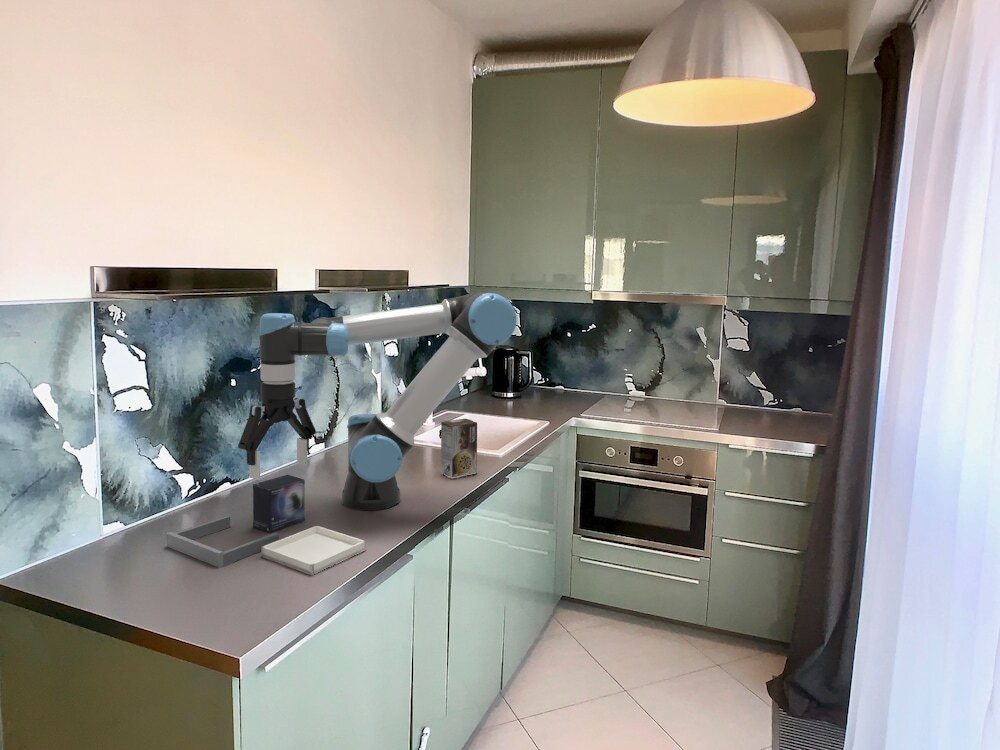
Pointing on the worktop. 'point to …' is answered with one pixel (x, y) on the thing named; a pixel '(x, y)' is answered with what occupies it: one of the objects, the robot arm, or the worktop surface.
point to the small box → (278, 503)
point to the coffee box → (458, 447)
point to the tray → (313, 549)
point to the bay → (186, 545)
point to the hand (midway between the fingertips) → (279, 471)
